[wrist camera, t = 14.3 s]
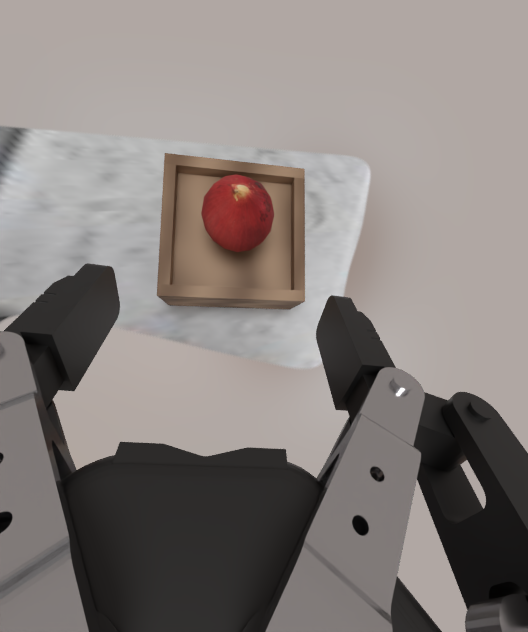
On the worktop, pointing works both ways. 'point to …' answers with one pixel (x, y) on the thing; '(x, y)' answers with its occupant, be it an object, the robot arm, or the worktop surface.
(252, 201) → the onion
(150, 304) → the worktop surface
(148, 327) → the worktop surface
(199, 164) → the brown wooden box
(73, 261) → the worktop surface
